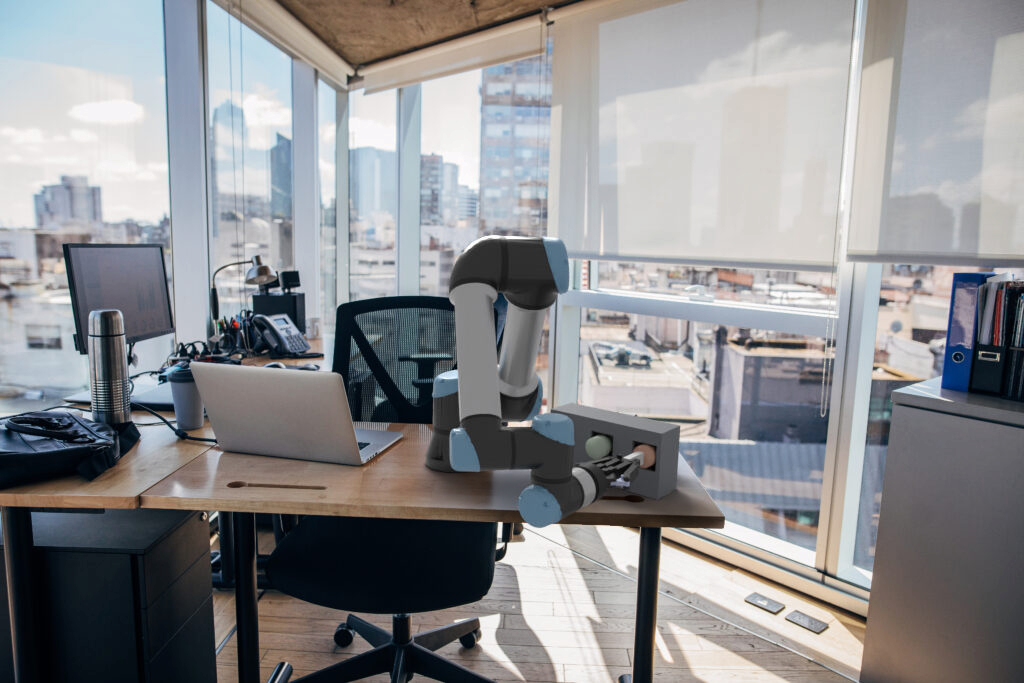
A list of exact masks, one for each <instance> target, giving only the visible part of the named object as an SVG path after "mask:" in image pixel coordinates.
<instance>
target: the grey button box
mask: <svg viewBox="0 0 1024 683" xmlns="http://www.w3.org/2000/svg"><path fill="white" fill-rule="evenodd" d="M608 410H609V409H604V408H603V409H602V408H599V407H593V406H588V405H584V404H580V403H574V402H570V403H567V404H563V405H560V406H556V407H553V408H550V412H549V413H557V414H562V415H566V416H568V417H569V418H570V419H571V420H572V421H573V424H574V442H575V445H574V453H573V468H574V467H575V464H576V463H584V462H589V461H593V460H597V459H593V458H591V457H590V456H589V455H588V454H587V452H586V448H585V445H586V442H587V440H588V439H590V438H592V437H595V436H598V435H600V434H605V435H607V436H608V437H610V439H611V440H612V443H613V450H612V452H611V453H610V454H609V455H607V456H604V457H602V458H605V457H610V456H611V457H613V459H616V458H617V454H620V455H622V458H623V457H625V456H628V455H630V454H632V453H633V450H634V449H635V448H636V447H637V446H640V445H642V444H644V443H646V444H650V445H654V446H657V453H656V463H655V464H653V465H651V466H649V467H647V468H641V467H639V471H638V476H637V477H636V479H635V480H634V481H633V482H632V483H631V484H630V489H629V490H626V491H627V492H631V493H634V494H636V495H637V494H638V495H641V496H644V497H647V498H651V499H655V500H657V501H658V500H660V499H662V498H663V497H665V496H667V495H668V494H670V493H672V492H674V491H675V490H677V486H678V485H677V483H678V469H679V455H680V454H679V452H680V440H681V439H680V436H681V425H679V424H675V423H671V422H666V421H660V420H656V419H650V418H646V417H641V416H638V415H637V416H632V415H627V414H623V413H620V412H619V411H617V412H613V411H614V410H610V411H608ZM618 412H619V413H618ZM600 459H601V458H600ZM606 463H607V462H606ZM616 488H618V489H620V490H624V489H623V487H620V486H616V487H615V489H616ZM624 491H625V490H624Z"/></svg>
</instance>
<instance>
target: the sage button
mask: <svg viewBox="0 0 1024 683" xmlns="http://www.w3.org/2000/svg"><path fill="white" fill-rule="evenodd" d="M585 448H586V452H587V454H588V455H589V456H590V457H591V458H593V459H600V458H602V457H604V456H607V455H609V454H610V453H611V452H612V450H613V443H612V440H611V439H610V437H608V436H607V435H605V434H600V435H598V436H595V437H592V438H590V439H588V440H587V442H586V445H585Z"/></svg>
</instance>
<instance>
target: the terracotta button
mask: <svg viewBox="0 0 1024 683" xmlns="http://www.w3.org/2000/svg"><path fill="white" fill-rule="evenodd" d="M637 451H641V452H644V463H643V465H641V466H640V467H641V468H647V467H649V466H651V465H653V464H655V463H656V453H657V446H654V445H650V444H646V443H644V444H642V445H640V446H637V447H636V448H635V449H634V450H633V453H634V452H637Z"/></svg>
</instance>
